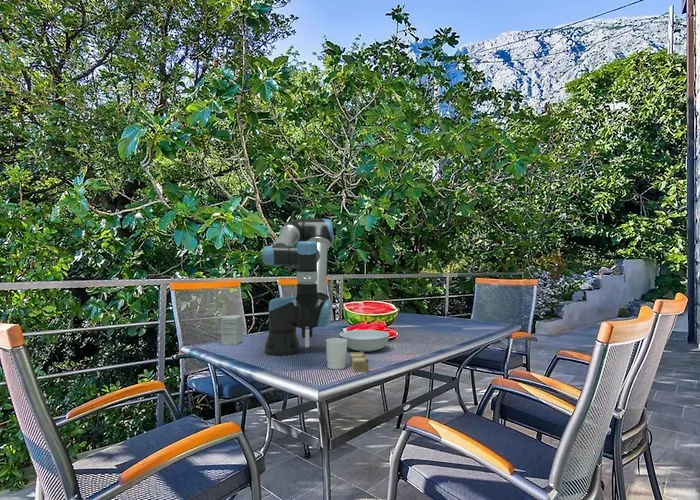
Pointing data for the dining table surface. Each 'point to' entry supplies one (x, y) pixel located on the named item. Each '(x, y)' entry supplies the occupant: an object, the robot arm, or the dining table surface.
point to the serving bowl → (366, 339)
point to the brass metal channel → (358, 361)
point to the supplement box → (231, 330)
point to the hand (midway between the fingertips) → (307, 346)
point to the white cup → (336, 353)
